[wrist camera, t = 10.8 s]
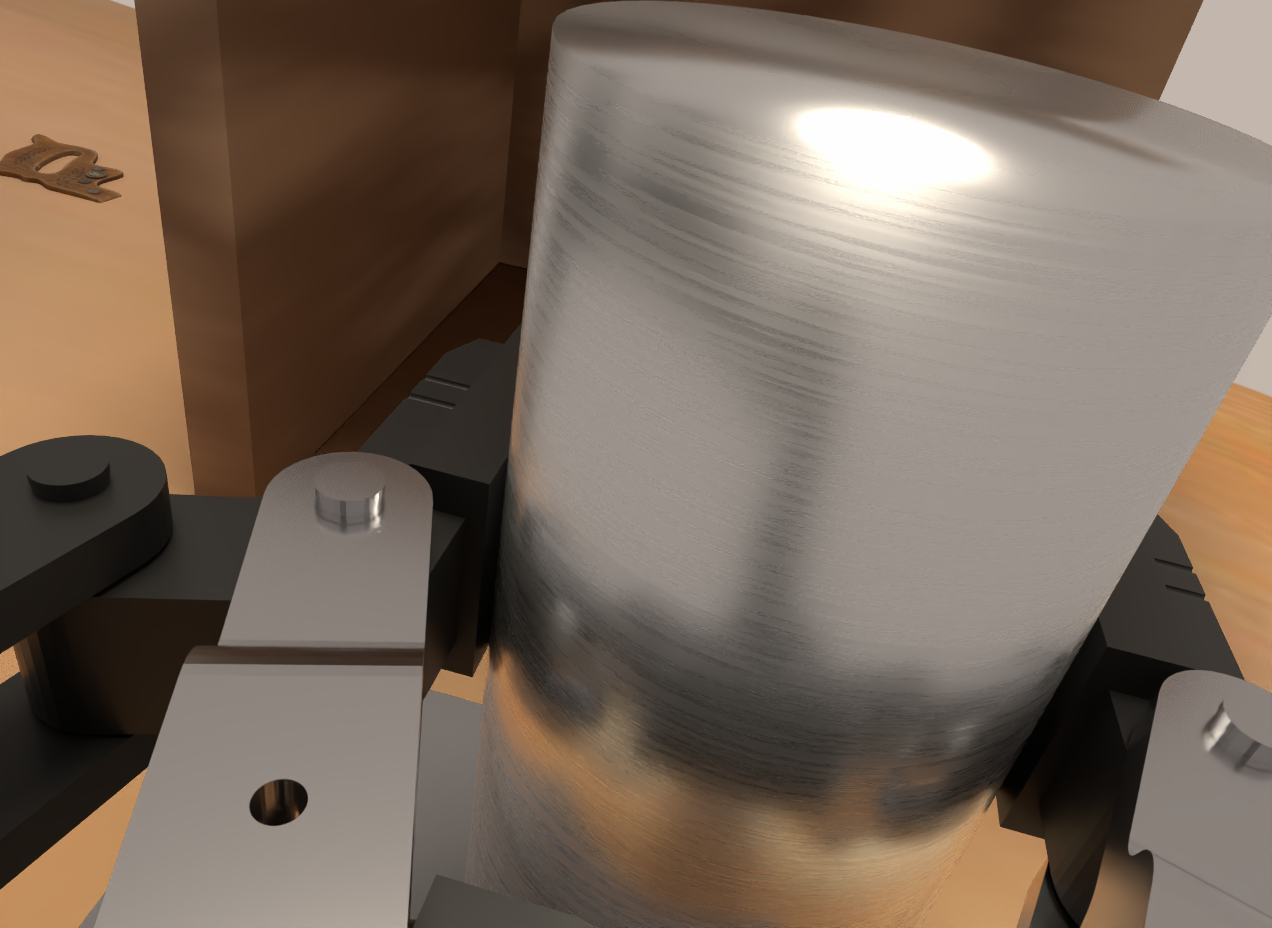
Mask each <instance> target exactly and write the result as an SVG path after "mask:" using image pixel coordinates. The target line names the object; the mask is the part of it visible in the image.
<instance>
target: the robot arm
mask: <svg viewBox="0 0 1272 928" xmlns="http://www.w3.org/2000/svg"><path fill="white" fill-rule="evenodd" d="M521 328H522V322H521V323H520V325H519V326H518V327H517V328H516V330H515V331H514V332H513V333H512V335H511V336H510V337H509V338H508V340H507V341H506V342H505V343H504V344H501V343H497V342H493V341H489V340H485V339H481V338H479V339H477V340H474V341H472V342H470V343H467V344H465V345H463V346H460V347H458V348H456V349H453V350H451V351H449V352H446V353H445V354H444V355H443V356H442V357H441V359H440V360H439V361H438V362H437V363H436V364H435V365H434V366H433V367H432V368H431V370H430V371H429V372H428V373H427V374H426V378H425V380H424V379H422V380H421V381H420V382H419V383H418V384H417V385H416V386H415V387H414V388H413V390H412V391H411V392H410V395H409V398H406V397H405V398H404V400H403V401H402V402H401V403H400V404H399V405H398V406H397V407H396V408H395V410H394V411H393V412H392V413H391V414H390V415H389V416H388V417H387V418H386V420H385V421H384V422H383V423H382V424H381V425H380V426H379V427H378V428H377V430H376V431H375V432H374V433H373V434H372V435H371V436H370V437H369V438H368V439H367V441H366V442H365V443H364V444H363V445H362V446H361V447H360V448H359V449H358V451H357V452H337V453H328V454H323V455H317V456H314V457H310V458H307V459H304V460H301V461H299V462H297V463H294V464H292V465H291V466H289V467H287V468H286V469H284V470H282V471H281V472H280V473H279V474H277V475H276V476H275V477H274V478H273V479H272V481H271V482H270V483H269V484H268V486H267V488H266V490H265V492H264V495H263V497H221V496H198V495H176V494H169V489H168V481H167V474H166V469H165V466H164V463H163V462H162V460H161V459H160V457H159V456H158V455H156V454H155V453H154V452H153V451H152V450H150V449H148V448H147V447H145V446H143V445H141V444H138V443H136V442H133V441H130V440H125V439H121V438H116V437H109V436H95V435H83V436H69V437H61V438H54V439H49V440H45V441H40V442H37V443H33V444H30V445H27V446H24V447H21V448H19V449H16V450H14V451H11V452H9V453H7V454H5V455H2V456H0V654H1V653H2V652H4V651H5V650H7V649H9V648H10V647H12V646H13V647H14V651H15V654H16V658H17V661H18V665H19V669H20V672H18V673H17V674H15V675H14V676H12V677H11V678H9V679H8V680H6V681H5V682H3V683H2V684H0V889H1V888H3V887H4V886H5V885H6V884H7V883H9V882H10V881H11V880H12V879H13V878H15V877H16V876H17V875H18V874H19V873H21V872H22V871H23V870H24V869H26V868H27V867H28V866H29V865H30V864H32V863H33V862H34V861H35V860H36V859H38V858H39V857H40V856H41V855H42V854H44V853H45V852H46V851H47V850H48V849H50V848H51V847H52V846H53V845H54V844H56V843H57V842H58V841H59V840H60V839H62V838H63V837H64V836H65V835H66V834H68V833H69V832H70V831H71V830H72V829H74V828H75V827H76V826H77V825H78V824H80V823H81V822H82V821H83V820H84V819H86V818H87V817H88V816H89V815H91V814H92V813H93V812H94V811H95V810H97V809H98V808H99V807H100V806H101V805H103V804H104V803H105V802H106V801H107V800H109V799H110V798H111V797H112V796H113V795H115V794H116V793H117V792H118V791H119V790H121V789H122V788H123V787H124V786H125V785H127V784H128V783H129V782H130V781H131V780H133V779H134V778H135V777H136V776H137V775H139V774H140V773H141V772H142V771H143V770H145V769H146V768H147V767H148V769H147V772H146V775H145V778H144V780H143V783H142V786H141V789H140V792H139V795H138V798H137V801H136V804H135V807H134V810H133V813H132V816H131V819H130V822H129V825H128V828H127V831H126V834H125V837H124V840H123V843H122V846H121V849H120V852H119V854H118V857H117V860H116V863H115V866H114V869H113V872H112V875H111V878H110V881H109V884H108V887H107V890H106V893H105V896H104V899H103V902H102V905H101V908H100V911H99V914H98V917H97V920H96V923H95V926H94V928H596V927H594V926H593V925H591V924H589V923H588V922H586V921H584V920H583V919H581V918H579V917H577V916H574V915H570V914H567V913H564V912H560V911H557V910H554V909H550V908H547V907H544V906H540V905H537V904H534V903H530V902H527V901H524V900H520V899H517V898H514V897H510V896H507V895H504V894H500V893H497V892H494V891H490V890H487V889H484V888H480V887H477V886H474V885H470V884H467V883H464V882H460V881H457V880H454V879H450V878H447V877H444V876H440V875H437V874H436V876H435V879H434V881H433V883H432V885H431V888H430V890H429V892H428V894H427V897H426V899H425V901H424V904H423V906H422V908H421V910H420V913H419V915H418V917H417V919H411V902H412V884H413V866H414V849H415V831H416V814H417V796H418V779H419V761H420V744H421V726H422V708H423V700H424V698H425V697H426V695H427V693H428V691H429V690H430V688H431V686H432V684H433V682H434V680H435V679H436V677H437V675H438V673H439V671H440V669H445V670H448V671H452V672H455V673H459V674H463V675H466V676H470V677H473V675H474V673H475V671H476V669H477V667H478V665H479V663H480V661H481V659H482V657H483V655H484V653H485V651H486V649H487V647H488V645H489V640H490V631H491V621H492V611H493V601H494V592H495V582H496V572H497V562H498V552H499V543H500V533H501V523H502V513H503V504H504V494H505V484H506V474H507V465H508V455H509V445H510V435H511V426H512V416H513V406H514V396H515V387H516V377H517V367H518V357H519V347H520V338H521ZM1192 569H1193V567H1192V564H1191V562H1190V560H1189V558H1188V556H1187V553H1186V551H1185V549H1184V547H1183V545H1182V543H1181V540H1180V538H1179V536H1178V535H1177V534H1176V533H1175V532H1174V531H1173V530H1172V529H1171V528H1170V527H1169V526H1168V525H1167V524H1166V523H1165V522H1164V520H1163V519H1162V518H1161V517H1160V516H1159V515H1158V514H1157V515H1156V517H1155V519H1154V521H1153V522H1152V524H1151V526H1150V528H1149V529H1148V531H1147V533H1146V535H1145V536H1144V538H1143V540H1142V542H1141V543H1140V545H1139V547H1138V548H1137V550H1136V552H1135V554H1134V555H1133V557H1132V559H1131V561H1130V562H1129V564H1128V566H1127V568H1126V569H1125V571H1124V573H1123V575H1122V576H1121V578H1120V580H1119V582H1118V583H1117V585H1116V587H1115V589H1114V590H1113V592H1112V594H1111V595H1110V597H1109V599H1108V601H1107V602H1106V604H1105V606H1104V608H1103V609H1102V611H1101V613H1100V615H1099V616H1098V618H1097V620H1096V622H1095V623H1094V625H1093V627H1092V629H1091V630H1090V632H1089V634H1088V635H1087V637H1086V639H1085V641H1084V642H1083V644H1082V646H1081V648H1080V649H1079V651H1078V653H1077V655H1076V656H1075V658H1074V660H1073V662H1072V663H1071V665H1070V667H1069V669H1068V670H1067V672H1066V674H1065V676H1064V677H1063V679H1062V681H1061V682H1060V684H1059V686H1058V688H1057V689H1056V691H1055V693H1054V695H1053V696H1052V698H1051V700H1050V702H1049V703H1048V705H1047V707H1046V709H1045V710H1044V712H1043V714H1042V716H1041V717H1040V719H1039V721H1038V723H1037V724H1036V726H1035V728H1034V729H1033V731H1032V733H1031V735H1030V736H1029V738H1028V740H1027V742H1026V743H1025V745H1024V747H1023V749H1022V750H1021V752H1020V754H1019V756H1018V757H1017V759H1016V761H1015V763H1014V764H1013V766H1012V768H1011V770H1010V771H1009V773H1008V775H1007V776H1006V778H1005V780H1004V782H1003V783H1002V785H1001V787H1000V789H999V790H998V792H997V794H996V799H997V806H998V814H999V822H1000V827H1003V828H1007V829H1010V830H1014V831H1018V832H1021V833H1025V834H1028V835H1032V836H1035V837H1039V838H1043V839H1045V843H1046V849H1047V855H1048V858H1047V860H1046V861H1045V863H1044V864H1043V866H1042V867H1041V869H1040V870H1039V872H1038V873H1037V875H1036V876H1035V878H1034V879H1033V881H1032V883H1031V885H1030V887H1029V889H1028V892H1027V896H1026V899H1025V902H1024V905H1023V909H1022V912H1021V915H1020V919H1019V922H1018V925H1017V928H1272V693H1270V692H1268V691H1266V690H1264V689H1262V688H1260V687H1258V686H1256V685H1254V684H1252V683H1249V682H1247V681H1245V680H1244V677H1243V675H1242V673H1241V671H1240V669H1239V667H1238V664H1237V662H1236V660H1235V658H1234V656H1233V653H1232V651H1231V649H1230V647H1229V645H1228V643H1227V640H1226V638H1225V636H1224V634H1223V632H1222V630H1221V627H1220V625H1219V623H1218V621H1217V619H1216V617H1215V614H1214V612H1213V610H1212V608H1211V606H1210V603H1209V602H1208V601H1204V597H1205V593H1204V590H1203V588H1202V586H1201V584H1200V582H1199V580H1198V577H1197V575H1196V574H1193V573H1192Z"/></svg>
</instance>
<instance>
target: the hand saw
mask: <svg viewBox="0 0 1272 928" xmlns="http://www.w3.org/2000/svg"><path fill="white" fill-rule="evenodd" d="M31 140H32V142H33V143H34V144H32V145H30V146H27V147H24V148H21V149H18V150H15V151H12V152H9V153H8V154H6V155H5V156H4V157H3V158H2V160H1V161H0V175H1V176H7V177H13V178H18V179H21V180H22V181H25V182H32V183H39V184H41V185H42V186H44V187H45V188H46V189H48V190H52V191H56V192H60V193H63V194H67V195H71V196H75V197H79V198H83V199H87V200H91V201H94V202H98V203H103V202H106V201H109V200H112V199H115V198H118V197H121V195H120V194H119V193H117V192H115V191H112V190H108V189H105V188H102V187H99V185H100V184H103V183H106V182H109V181H113V180H116V179H119V178H122V177H123V172H122V171H120V170H117V169H112V168H107V167H102V166H98V165H95V163H96V161H97V158H98V156H97V152H96V151H94V150H91V149H87V148H83V147H78V146H73V145H67V144H62V143H58V142H55V141H53V140H51V139H50V138H48V137H46V136H43V135H40V134H37V135H34V136H33V137H32V139H31ZM71 155H74V156H79V157H77V158H75V159H73V160H72V161H70V162H69V163H68V164H67V165H66V166H65V167H64V168H63V169H62V170H61V171H59V172H56V173H52V174H45V173H39V172H38V171H39V170H40V169H41V168H42V167H43V166H45V165H47V164H48V163H50V162H52V161H54V160H56V159H59V158H62V157H65V156H71Z"/></svg>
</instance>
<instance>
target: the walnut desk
mask: <svg viewBox="0 0 1272 928" xmlns="http://www.w3.org/2000/svg"><path fill="white" fill-rule="evenodd" d="M134 1H135V9H136V17H137V25H138V33H139V41H140V49H141V58H142V66H143V74H144V82H145V90H146V98H147V106H148V114H149V123H150V131H151V139H152V147H153V155H154V163H155V171H156V179H157V188H158V196H159V204H160V212H161V220H162V228H163V236H164V244H165V253H166V261H167V269H168V277H169V285H170V293H171V301H172V309H173V318H174V326H175V334H176V342H177V350H178V358H179V366H180V374H181V383H182V391H183V399H184V407H185V415H186V423H187V431H188V439H189V447H190V456H191V464H192V472H193V480H194V488H195V495H198V496H221V497H263V495H264V492H265V490H266V488H267V486H268V484H269V483H270V482H271V481H272V479H273V478H274V477H275V476H276V475H277V474H279V473H280V472H281V471H282V470H284V469H286V468H287V467H289V466H291V465H292V464H294V463H297V462H299V461H301V460H304V459H307V458H310V457H311V456H312V455H313V454H314V453H315V452H316V451H317V450H318V449H319V448H320V447H321V446H322V445H323V444H324V443H325V442H326V441H327V440H328V439H329V438H330V437H331V436H332V435H333V434H334V433H335V432H336V430H337V429H338V428H339V427H340V426H341V425H342V424H343V423H344V422H345V421H346V420H347V419H348V418H349V417H350V416H351V415H352V414H353V413H354V412H355V411H356V410H357V409H358V408H359V407H360V406H361V405H362V404H363V403H364V402H365V401H366V399H367V398H368V397H369V396H370V395H371V394H372V393H373V392H374V391H375V390H376V389H377V388H378V387H379V386H380V385H381V384H382V383H383V382H384V381H385V380H386V379H387V378H388V377H389V376H390V375H391V374H392V373H393V372H394V371H395V370H396V368H397V367H398V366H399V365H400V364H401V363H402V362H403V361H404V360H405V359H406V358H407V357H408V356H409V355H410V354H411V353H412V352H413V351H414V350H415V349H416V348H417V347H418V346H419V345H420V344H421V343H422V342H423V341H424V340H425V339H426V338H427V336H428V335H429V334H430V333H431V332H432V331H433V330H434V329H435V328H436V327H437V326H438V325H439V324H440V323H441V322H442V321H443V320H444V319H445V318H446V317H447V316H448V315H449V314H450V313H451V312H452V311H453V310H454V309H455V308H456V307H457V305H458V304H459V303H460V302H461V301H462V300H463V299H464V298H465V297H466V296H467V295H468V294H469V293H470V292H471V291H472V290H473V289H474V288H475V287H476V286H477V285H478V284H479V283H480V282H481V281H482V280H483V279H484V278H485V277H486V276H487V274H488V273H489V272H490V271H491V270H492V269H493V268H494V267H495V266H496V265H497V264H498V263H499V262H502V263H506V264H510V265H514V266H518V267H523V268H527V269H528V260H529V250H530V240H531V230H532V221H533V211H534V201H535V191H536V182H537V172H538V162H539V152H540V142H541V133H542V123H543V113H544V103H545V94H546V84H547V74H548V64H549V55H550V45H551V35H552V25H553V23H554V21H555V19H556V17H557V16H558V15H560V14H561V13H563V12H565V11H566V10H569V9H572V8H575V7H579V6H582V5H588V4H594V3H601V2H615V1H677V2H692V3H706V4H717V5H727V6H738V7H746V8H754V9H763V10H771V11H778V12H785V13H792V14H799V15H806V16H812V17H818V18H825V19H831V20H837V21H843V22H848V23H854V24H860V25H865V26H871V27H876V28H881V29H886V30H891V31H896V32H901V33H907V34H912V35H916V36H921V37H926V38H930V39H935V40H940V41H944V42H949V43H953V44H957V45H962V46H966V47H970V48H975V49H979V50H983V51H988V52H992V53H996V54H1000V55H1004V56H1008V57H1012V58H1016V59H1020V60H1024V61H1027V62H1031V63H1035V64H1039V65H1042V66H1046V67H1050V68H1053V69H1057V70H1061V71H1064V72H1068V73H1071V74H1075V75H1078V76H1082V77H1085V78H1089V79H1092V80H1096V81H1099V82H1102V83H1105V84H1109V85H1112V86H1115V87H1118V88H1122V89H1125V90H1128V91H1131V92H1134V93H1137V94H1140V95H1143V96H1146V97H1149V98H1152V99H1155V100H1158V101H1159V99H1160V97H1161V94H1162V92H1163V90H1164V88H1165V85H1166V83H1167V81H1168V79H1169V76H1170V74H1171V72H1172V70H1173V67H1174V65H1175V63H1176V61H1177V58H1178V56H1179V54H1180V52H1181V49H1182V47H1183V45H1184V43H1185V40H1186V38H1187V36H1188V34H1189V31H1190V29H1191V27H1192V25H1193V22H1194V20H1195V18H1196V16H1197V13H1198V11H1199V9H1200V6H1201V4H1202V2H1203V0H134Z"/></svg>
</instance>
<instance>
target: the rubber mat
mask: <svg viewBox="0 0 1272 928" xmlns="http://www.w3.org/2000/svg"><path fill="white" fill-rule="evenodd" d="M482 709H483V705H482V704H479V703H475V702H472V701H468V700H465V699H461V698H458V697H454V696H451V695H447V694H443V693H440V692H436V691H433V690H429V691H428V693H427V695H426V697H425V698H424V700H423V708H422V726H421V744H420V761H419V779H418V796H417V814H416V831H415V849H414V866H413V884H412V902H411V919H417V917H418V915H419V913H420V910H421V908H422V906H423V904H424V901H425V899H426V897H427V894H428V892H429V890H430V888H431V885H432V883H433V881H434V879H435V876H436V874H437V875H440V876H444V877H447V878H450V879H454V880H457V881H460V882H464V883H465V875H466V865H467V855H468V845H469V836H470V826H471V816H472V806H473V797H474V787H475V777H476V767H477V758H478V748H479V738H480V728H481V718H482ZM105 893H106V892H105ZM105 893H104V895H103V896H102V897H101V898H100V900H99V901H98V902H97V904H96V905H95V906H94V908H93V909H92V910H91V912H90V913H89V914H88V916H87V917H86V918H85V920H84V921H83V922H82V924H81V925H80V926H79V928H94V926H95V923H96V920H97V917H98V914H99V911H100V908H101V905H102V902H103V899H104V896H105Z"/></svg>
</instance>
